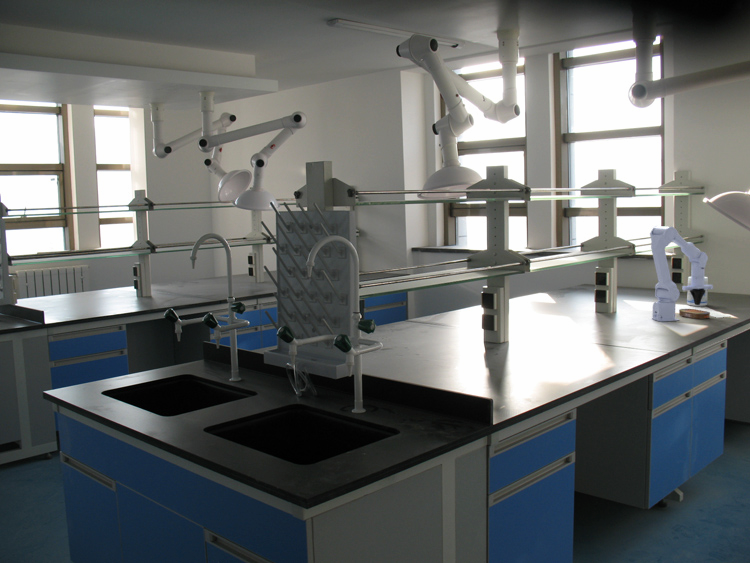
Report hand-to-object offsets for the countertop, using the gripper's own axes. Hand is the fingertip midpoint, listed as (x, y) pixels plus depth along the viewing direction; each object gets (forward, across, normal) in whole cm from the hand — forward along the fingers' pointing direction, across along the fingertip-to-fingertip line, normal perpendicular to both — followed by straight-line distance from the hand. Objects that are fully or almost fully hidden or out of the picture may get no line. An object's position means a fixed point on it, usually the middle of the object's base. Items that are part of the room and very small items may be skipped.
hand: (697, 304), depth 322 cm
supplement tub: (+6, +18, +28) cm, 34 cm away
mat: (+6, +9, 0) cm, 10 cm away
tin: (+4, +2, 0) cm, 5 cm away
